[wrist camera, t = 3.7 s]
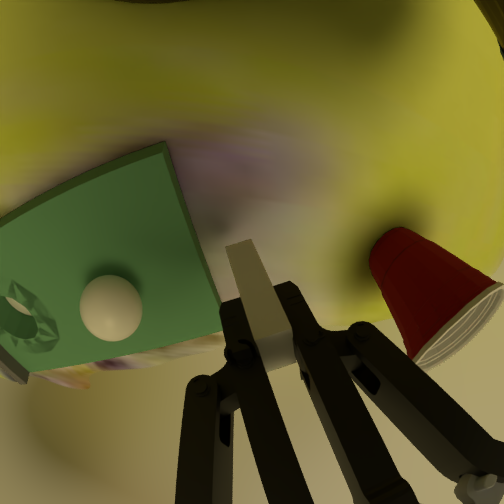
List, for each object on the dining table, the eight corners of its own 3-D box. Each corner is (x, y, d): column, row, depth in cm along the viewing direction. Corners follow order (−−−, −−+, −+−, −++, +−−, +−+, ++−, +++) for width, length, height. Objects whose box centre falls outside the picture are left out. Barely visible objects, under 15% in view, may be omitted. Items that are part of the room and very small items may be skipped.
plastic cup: (329, 298, 27) (389, 398, 17) (369, 197, 21) (475, 292, 12) (401, 290, 30) (458, 364, 20) (440, 211, 24) (520, 279, 15)
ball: (76, 272, 15) (60, 317, 12) (127, 253, 15) (119, 300, 12) (105, 313, 18) (98, 359, 14) (153, 299, 18) (153, 347, 15)
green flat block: (-47, 253, 13) (-70, 283, 10) (165, 141, 15) (160, 159, 12) (28, 351, 22) (20, 384, 18) (221, 302, 24) (231, 343, 20)
